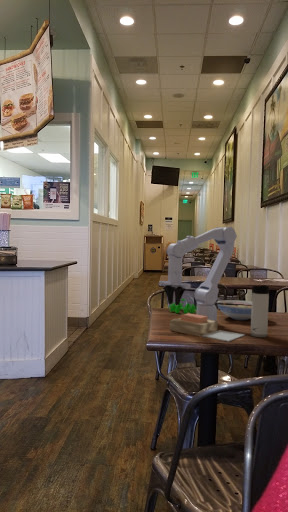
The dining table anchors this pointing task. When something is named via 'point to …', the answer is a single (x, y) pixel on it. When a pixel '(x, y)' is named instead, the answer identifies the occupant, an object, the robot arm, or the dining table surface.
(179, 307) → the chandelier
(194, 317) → the terracotta brown block
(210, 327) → the board
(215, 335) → the mat
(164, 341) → the dining table surface
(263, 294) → the travel mug
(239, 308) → the ramen bowl
